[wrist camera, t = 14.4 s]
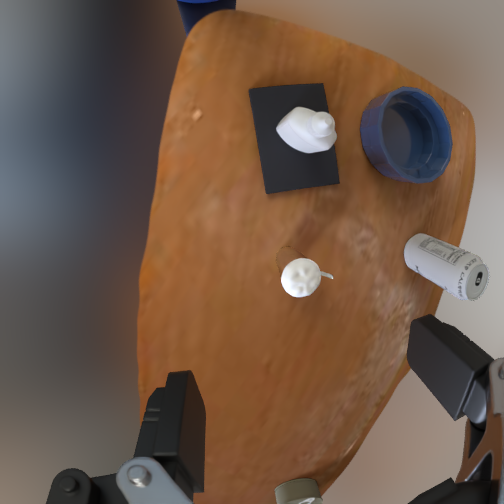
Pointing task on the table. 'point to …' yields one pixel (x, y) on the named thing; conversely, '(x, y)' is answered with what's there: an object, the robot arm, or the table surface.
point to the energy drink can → (447, 266)
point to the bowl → (406, 135)
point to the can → (298, 492)
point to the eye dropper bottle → (307, 130)
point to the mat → (278, 151)
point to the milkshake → (298, 272)
